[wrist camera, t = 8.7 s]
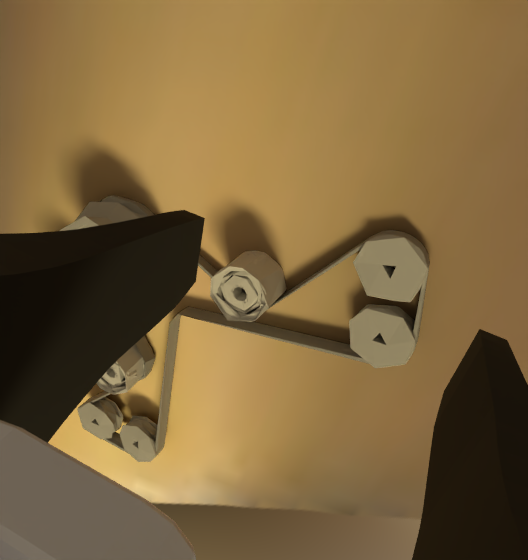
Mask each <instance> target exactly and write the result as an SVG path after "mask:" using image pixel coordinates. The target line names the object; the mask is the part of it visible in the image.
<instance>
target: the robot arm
mask: <svg viewBox="0 0 528 560" xmlns="http://www.w3.org/2000/svg"><path fill="white" fill-rule="evenodd" d="M204 219H205V218H203V217H200V216H198V215H195V214H193V213H190V212H188V211H185V210H181V211H173V212H167V213H162V214H157V215H152V216H147V217H142V218H137V219H132V220H127V221H122V222H117V223H112V224H105V225H99V226H93V227H87V228H81V229H74V230H66V231H56V232H43V233H20V234H0V560H196V557H195V552H194V549H193V546H192V544H191V543H190V542H189V540H188V539H187V538H186V536H185V535H184V534H183V532H182V531H181V530H180V528H179V527H178V525H177V524H176V523H175V522H174V521H173V520H172V519H171V518H169V517H168V516H167V515H166V514H164V513H163V512H162V511H160V510H159V509H158V508H157V507H155V506H154V505H153V504H151V503H150V502H149V501H147V500H146V499H144V498H142V497H141V496H139V495H137V494H135V493H134V492H132V491H130V490H128V489H127V488H125V487H123V486H122V485H120V484H118V483H116V482H115V481H113V480H111V479H109V478H108V477H106V476H104V475H102V474H101V473H99V472H97V471H96V470H94V469H92V468H90V467H89V466H87V465H85V464H83V463H82V462H80V461H78V460H76V459H75V458H73V457H71V456H69V455H68V454H66V453H64V452H63V451H61V450H59V449H57V448H56V447H54V446H52V445H50V444H49V443H48V442H49V440H50V439H51V438H52V436H53V435H54V434H55V433H56V431H57V430H58V429H59V427H60V426H61V425H62V423H63V422H64V421H65V420H66V419H67V417H68V416H69V415H70V414H71V413H72V411H73V410H74V409H75V408H76V406H77V405H78V404H79V403H80V402H81V400H82V399H83V398H84V397H85V396H86V394H87V393H88V392H89V391H90V390H91V389H92V388H93V386H94V385H95V384H96V383H97V382H98V381H99V380H100V378H101V377H102V376H103V375H104V374H105V373H106V372H107V370H108V369H109V368H110V367H111V366H112V365H113V364H114V363H115V362H116V361H117V360H118V359H119V358H120V357H121V356H123V355H124V354H125V353H126V352H127V351H128V350H129V349H130V348H131V347H132V346H133V345H135V344H136V343H137V342H138V341H139V340H140V339H141V338H142V337H143V336H145V335H146V334H147V333H148V332H149V331H150V330H151V329H152V328H153V327H154V326H156V325H157V324H158V323H159V322H160V321H161V320H162V319H163V318H164V317H165V316H166V315H167V314H168V313H169V312H171V311H172V310H173V309H174V308H175V307H176V305H177V304H178V303H179V302H180V301H181V299H182V298H183V297H184V296H185V295H186V293H187V292H188V291H189V289H190V288H191V287H192V286H193V284H194V283H195V282H196V275H197V268H198V261H199V254H200V247H201V240H202V233H203V226H204ZM412 560H528V385H527V383H526V381H525V378H524V376H523V374H522V372H521V370H520V368H519V365H518V363H517V361H516V359H515V356H514V354H513V352H512V350H511V348H510V345H509V343H508V341H507V340H505V339H503V338H500V337H498V336H496V335H493V334H491V333H488V332H486V331H483V330H481V329H479V331H478V333H477V335H476V336H475V338H474V340H473V342H472V343H471V345H470V347H469V349H468V350H467V352H466V354H465V356H464V357H463V359H462V361H461V363H460V364H459V366H458V368H457V370H456V371H455V373H454V375H453V377H452V378H451V380H450V382H449V384H448V385H447V387H446V389H445V390H444V393H443V397H442V400H441V404H440V407H439V411H438V414H437V418H436V422H435V426H434V432H433V438H432V446H431V453H430V461H429V468H428V476H427V484H426V491H425V499H424V507H423V513H422V519H421V524H420V529H419V534H418V538H417V542H416V546H415V550H414V554H413V558H412Z"/></svg>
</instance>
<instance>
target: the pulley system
mask: <svg viewBox="0 0 528 560" xmlns="http://www.w3.org/2000/svg"><path fill="white" fill-rule="evenodd" d="M152 215H154V214H153V213H152V212H151V211H150V210H149V209H148V208H147V207H146V206H144V205H143V204H141V203H139V202H136V201H134V200H131V199H127V198H124V197H120V196H116V195H113V196H108V197H106V198H104V199H102V200H101V201H100V202H89V203H88V205H87V206H86V207H85V209H84V210H83V211H82V213H81V214H80V215H79V216H78V218H77V219H76V220H75V222H73V223H71V224H70V225H68V226H66V227H64V228H63V229H61V230H60V231H66V230H74V229H81V228H87V227H93V226H99V225H105V224H112V223H117V222H122V221H127V220H132V219H137V218H142V217H147V216H152ZM360 249H361V251H360V252H359V254H358V255H357V257H356V259H355V260H354V262H353V263H354V266H355V268H356V271H357V273H358V275H359V278H360V280H361V282H362V285H363V287H364V289H365V292H366V294H367V296H372V297H377V298H382V299H388V300H393V301H401V302H411V301H412V300H413V298H414V297H415V295H416V294H417V293H418V291H419V290H420V288H421V293H420V298H419V303H418V309H417V314H416V319H415V325H414V320H413V319H412V318H411V317H410V316H409V315H408V314H407V313H405V312H404V311H403V310H402V309H401V308H400V307H399V306H390V305H375V304H367V305H366V306H365V307H364V308H363V309H361V310H360V312H359V313H358V314H357V315H356V316H355V317H354V318H352V319H351V320H350V321H349V327H350V345H349V344H345V343H341V342H336V341H332V340H328V339H324V338H320V337H315V336H311V335H307V334H303V333H299V332H294V331H290V330H286V329H282V328H278V327H273V326H269V325H265V324H261V323H257V322H252V321H255V320H256V319H257V318H259V317H260V316H261V315H262V314H263V313H264V312H265V311H266V310H267V309H269V308H270V307H272V306H273V305H275V304H276V303H278V302H279V301H281V300H283V299H284V298H286V297H287V296H289V295H290V294H292V293H293V292H295V291H297V290H298V289H300V288H301V287H303V286H304V285H306V284H307V283H309V282H311V281H312V280H314V279H315V278H317V277H318V276H320V275H322V274H323V273H325V272H326V271H328V270H329V269H331V268H332V267H334V266H336V265H337V264H339V263H340V262H342V261H343V260H345V259H346V258H348V257H350V256H351V255H353V254H354V253H356V252H357V251H359V250H360ZM429 264H430V262H429V257H428V253H427V251H426V249H425V247H424V246H423V245H422V243H421V242H419V241H418V240H417V239H416V238H415V237H413V236H412V235H409V234H407V233H405V232H401V231H395V230H387V231H381V232H379V233H377V234H375V235H372V236H371V237H369V238H368V239H366V240H365V241H363V242H362V243H360V244H359V245H357V246H356V247H354V248H353V249H351V250H350V251H348V252H347V253H345V254H344V255H343V256H341V257H340V258H338V259H337V260H335V261H334V262H332V263H330V264H329V265H327V266H326V267H324V268H323V269H321V270H320V271H318V272H317V273H315V274H313V275H312V276H310V277H309V278H307V279H306V280H304V281H303V282H301V283H300V284H298V285H297V286H295V287H293V288H292V289H290V290H289V291H287V292H286V293H284V292H285V291H286V290H287V289H286V283H285V278H284V273H283V270H282V268H281V267H280V266H279V264H278V263H277V262H276V261H275V260H273V259H272V258H271V257H270V256H269V255H268V254H266V253H265V252H261V251H245V252H243V253H242V254H240V255H239V256H238V257H237V258H236V259H234V260H233V261H232V262H231V263H229V264H228V265H227V266H226V267H224V268H222V269H221V270H219V271H217V270H216V269H215V268H214V267H213V266H211V265H210V264H209V263H208V262H207V261H206V260H205V259H204V258H202V257H201V256H200V255H199V261H198V266H199V267H200V268H201V269H202V270H204V271H205V272H206V273H207V274H208V275H209V276H210V277H211V294H210V296H211V297H212V299H213V300H214V302H215V303H216V304H217V306H218V307H219V309H220V310H221V312H222V313H223V314H224V315H223V314H219V313H214V312H210V311H206V310H201V309H197V308H193V307H187V308H185V309H184V310H182V311H181V312H179V313H178V314H177V315H176V316H175V317H174V319H173V320H172V321H171V322H170V325H169V334H168V342H167V350H166V359H165V367H164V376H163V384H162V393H161V401H160V410H159V418H158V425H157V424H155V423H154V422H153V421H151V420H150V419H149V418H147V417H143V416H132V418H131V420H130V422H129V423H128V424H126V425H123V426H122V429H121V432H120V434H118V433H117V432H115V431H117V430H118V429H119V428H120V427H121V425H122V420H123V414H122V413H121V411H120V410H119V408H118V406H117V405H116V403H115V402H113V401H111V400H110V399H108V398H106V396H108V395H110V394H113V395H115V394H121V393H126V392H128V391H129V390H130V389H131V388H132V387H133V386H134V385H135V384H136V382H137V381H139V380H142V379H144V378H145V377H146V376H147V375H148V374H149V373H150V372H151V370H152V367H153V364H154V361H155V356H154V354H153V351H152V348H151V347H150V345H149V344H148V342H147V340H146V338H145V336H143V337H142V338H141V339H140V340H139V341H138V342H137V343H136V344H135V345H133V346H132V347H131V348H130V349H129V350H128V351H127V352H126V353H125V354H124V355H123V356H121V357H120V358H119V359H118V360H117V361H116V362H115V363H114V364H113V365H112V366H111V367H110V368H109V369H108V370H107V372H106V373H105V374H104V375H103V376H102V377H101V378H100V380H99V381H98V382H97V385H98V386H99V388H100V389H102V390H104V391H105V392H102V393H100V394H98V395H96V396H93V397H91V398H89V399H88V400H87V401H86V402H85V403H83V404H82V405H81V406H80V407H78V409H77V410H78V413H79V417H80V420H81V423H82V427H83V428H84V429H85V430H87V431H88V432H90V433H92V434H93V435H95V436H96V437H98V438H100V439H103V440H105V441H107V442H109V443H111V444H112V445H114V446H116V447H118V448H120V449H121V450H123V451H125V452H127V453H129V454H130V455H131V456H132V457H133V458H134V459H136V460H137V461H138V462H150V461H152V460H153V459H154V458H155V457H156V456H157V455H158V454H159V453H160V452H161V450H162V449H163V447H164V444H165V436H166V428H167V420H168V412H169V404H170V396H171V388H172V380H173V372H174V364H175V356H176V348H177V339H178V331H179V323H180V315H183V316H187V317H191V318H195V319H199V320H202V321H206V322H210V323H214V324H218V325H222V326H226V327H229V328H233V329H237V330H241V331H245V332H249V333H253V334H256V335H260V336H264V337H268V338H272V339H276V340H280V341H283V342H287V343H291V344H295V345H299V346H303V347H307V348H310V349H314V350H318V351H322V352H326V353H330V354H334V355H337V356H341V357H345V358H349V359H353V360H357V361H361V362H365V363H368V364H371V365H372V366H373V367H374V368H382V367H391V366H397V365H404V364H406V363H407V362H408V360H409V359H410V357H411V355H412V354H413V352H414V350H415V347H416V344H417V341H418V337H419V331H420V324H421V318H422V311H423V304H424V297H425V291H426V284H427V277H428V270H429ZM391 266H396V268H395V270H394V269H393V268H392V267H391ZM421 286H422V287H421ZM283 293H284V294H283ZM282 294H283V295H282Z"/></svg>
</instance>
